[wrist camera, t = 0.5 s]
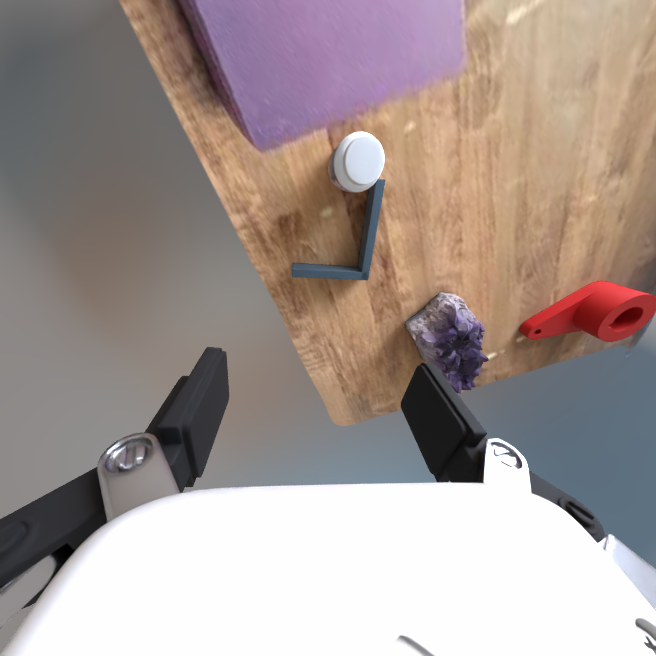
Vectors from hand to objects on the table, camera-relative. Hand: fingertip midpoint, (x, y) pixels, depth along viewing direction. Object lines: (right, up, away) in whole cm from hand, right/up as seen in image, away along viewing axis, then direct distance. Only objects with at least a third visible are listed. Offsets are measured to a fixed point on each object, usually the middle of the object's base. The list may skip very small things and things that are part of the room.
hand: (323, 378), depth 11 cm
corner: (0, +17, +23) cm, 29 cm away
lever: (+48, +6, +36) cm, 60 cm away
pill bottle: (+3, +24, +20) cm, 31 cm away
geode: (+23, +1, +36) cm, 42 cm away
